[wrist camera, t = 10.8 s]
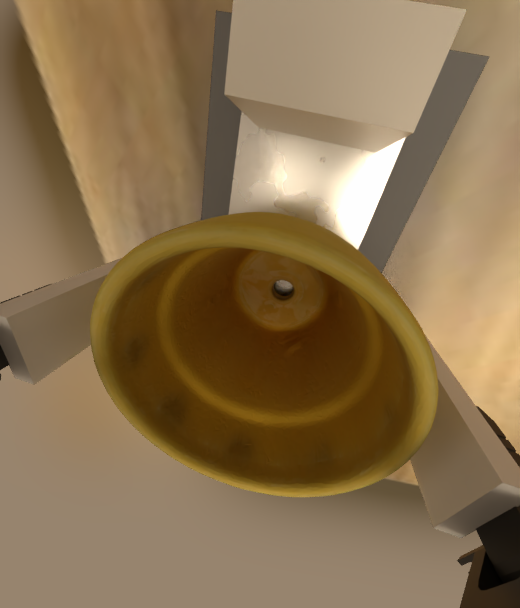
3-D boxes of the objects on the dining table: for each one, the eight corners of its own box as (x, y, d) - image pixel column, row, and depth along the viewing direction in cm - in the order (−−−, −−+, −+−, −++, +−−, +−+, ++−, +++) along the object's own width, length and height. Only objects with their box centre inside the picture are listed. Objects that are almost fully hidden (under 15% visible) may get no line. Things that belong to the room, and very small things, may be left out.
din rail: (253, 48, 11) (250, 41, 10) (426, 79, 10) (432, 73, 10) (210, 373, 22) (207, 378, 21) (292, 400, 21) (292, 406, 20)
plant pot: (387, 200, 12) (557, 240, 4) (349, 356, 17) (382, 531, 8) (202, 195, 14) (23, 214, 5) (215, 336, 19) (131, 462, 10)
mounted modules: (269, 60, 11) (235, -27, 6) (402, 85, 10) (467, 9, 6) (218, 377, 21) (192, 428, 17) (282, 398, 20) (273, 456, 16)
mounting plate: (227, 29, 12) (216, 10, 11) (468, 72, 11) (489, 56, 9) (197, 364, 24) (190, 374, 22) (311, 401, 23) (310, 414, 21)
